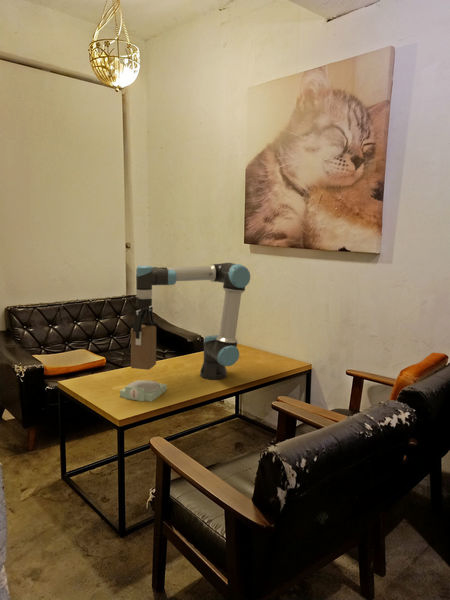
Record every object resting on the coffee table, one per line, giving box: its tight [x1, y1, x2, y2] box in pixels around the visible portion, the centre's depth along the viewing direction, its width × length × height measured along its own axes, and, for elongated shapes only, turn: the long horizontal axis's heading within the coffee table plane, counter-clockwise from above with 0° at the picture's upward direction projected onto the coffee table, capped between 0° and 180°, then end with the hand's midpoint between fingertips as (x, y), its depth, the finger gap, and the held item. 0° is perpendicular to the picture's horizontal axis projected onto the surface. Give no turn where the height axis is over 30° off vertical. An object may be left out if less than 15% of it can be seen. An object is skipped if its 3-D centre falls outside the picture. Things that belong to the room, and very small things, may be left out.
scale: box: [119, 379, 168, 403], centre depth 226 cm, size 17×19×6 cm
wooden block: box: [130, 324, 157, 371], centre depth 224 cm, size 10×10×20 cm
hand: (143, 342), depth 223 cm, fingers closed on wooden block, 10 cm apart
